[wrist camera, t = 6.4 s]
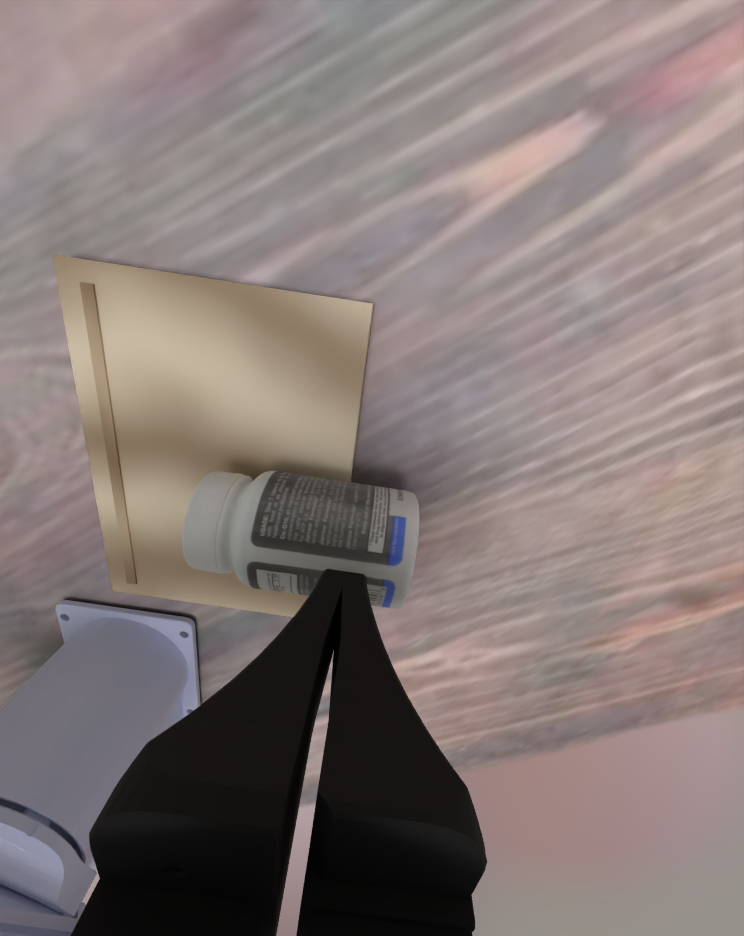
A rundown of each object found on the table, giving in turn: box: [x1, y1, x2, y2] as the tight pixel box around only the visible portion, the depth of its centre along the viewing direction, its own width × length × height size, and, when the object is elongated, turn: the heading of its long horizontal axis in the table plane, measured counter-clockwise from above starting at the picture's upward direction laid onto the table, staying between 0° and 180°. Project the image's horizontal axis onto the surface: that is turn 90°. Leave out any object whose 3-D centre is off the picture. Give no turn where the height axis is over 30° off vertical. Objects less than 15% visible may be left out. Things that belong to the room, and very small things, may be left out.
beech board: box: [52, 254, 374, 617], centre depth 17 cm, size 16×12×1 cm
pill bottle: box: [182, 471, 420, 608], centre depth 15 cm, size 5×5×8 cm
